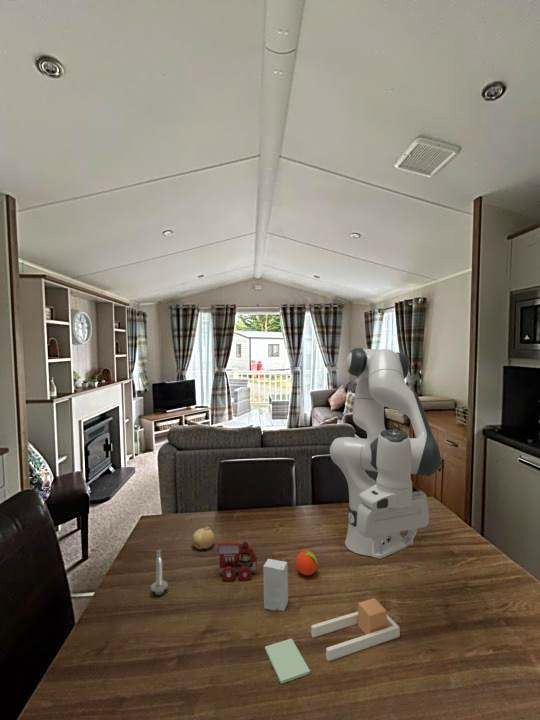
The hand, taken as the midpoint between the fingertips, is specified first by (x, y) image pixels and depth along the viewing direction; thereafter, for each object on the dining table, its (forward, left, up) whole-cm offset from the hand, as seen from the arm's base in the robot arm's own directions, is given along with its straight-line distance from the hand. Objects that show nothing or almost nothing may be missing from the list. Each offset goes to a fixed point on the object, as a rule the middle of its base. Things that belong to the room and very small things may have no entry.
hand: (393, 547), depth 97 cm
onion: (+39, -57, -21) cm, 72 cm away
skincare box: (+26, -18, -21) cm, 37 cm away
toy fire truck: (+32, -36, -21) cm, 52 cm away
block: (+7, 0, -20) cm, 21 cm away
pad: (+29, 0, -20) cm, 35 cm away
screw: (+56, -36, -20) cm, 69 cm away
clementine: (+11, -28, -21) cm, 36 cm away
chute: (+12, 0, -20) cm, 24 cm away
